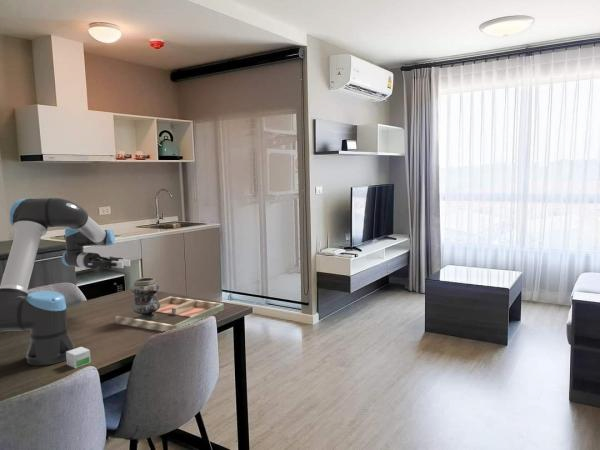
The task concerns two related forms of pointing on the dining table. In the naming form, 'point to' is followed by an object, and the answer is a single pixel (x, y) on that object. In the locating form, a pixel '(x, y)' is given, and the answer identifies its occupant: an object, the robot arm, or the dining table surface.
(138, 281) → the apothecary jar
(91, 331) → the dining table surface
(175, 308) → the trap box
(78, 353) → the small box
